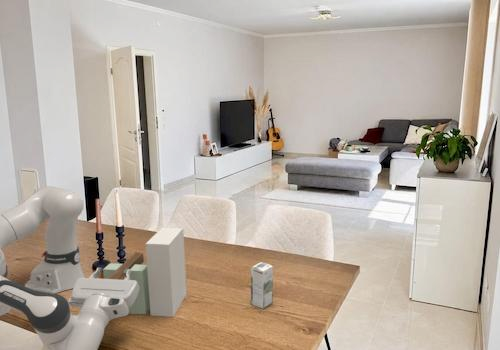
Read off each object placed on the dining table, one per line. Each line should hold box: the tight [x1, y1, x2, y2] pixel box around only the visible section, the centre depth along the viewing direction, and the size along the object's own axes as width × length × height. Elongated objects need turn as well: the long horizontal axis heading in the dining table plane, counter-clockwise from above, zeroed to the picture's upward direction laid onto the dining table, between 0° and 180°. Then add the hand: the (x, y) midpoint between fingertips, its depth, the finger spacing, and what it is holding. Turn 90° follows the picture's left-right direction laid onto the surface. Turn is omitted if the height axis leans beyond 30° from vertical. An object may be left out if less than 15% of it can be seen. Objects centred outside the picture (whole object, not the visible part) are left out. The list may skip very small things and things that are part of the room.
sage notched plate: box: [102, 262, 150, 315], centre depth 146 cm, size 14×5×16 cm, turn 82°
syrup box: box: [250, 261, 274, 310], centre depth 149 cm, size 6×6×14 cm
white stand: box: [145, 227, 188, 318], centre depth 148 cm, size 8×16×26 cm, turn 172°
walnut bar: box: [108, 252, 145, 280], centre depth 145 cm, size 3×24×4 cm, turn 172°
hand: (114, 269), depth 136 cm, fingers open, 8 cm apart
